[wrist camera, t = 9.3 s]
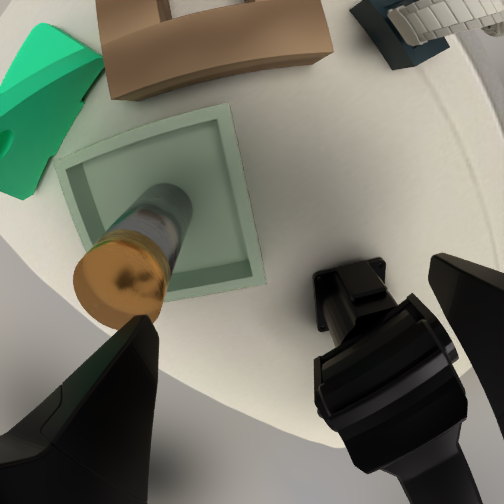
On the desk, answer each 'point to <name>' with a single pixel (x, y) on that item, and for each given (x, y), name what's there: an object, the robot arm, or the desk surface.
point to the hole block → (204, 42)
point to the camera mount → (41, 103)
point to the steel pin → (135, 258)
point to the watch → (424, 25)
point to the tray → (185, 177)
